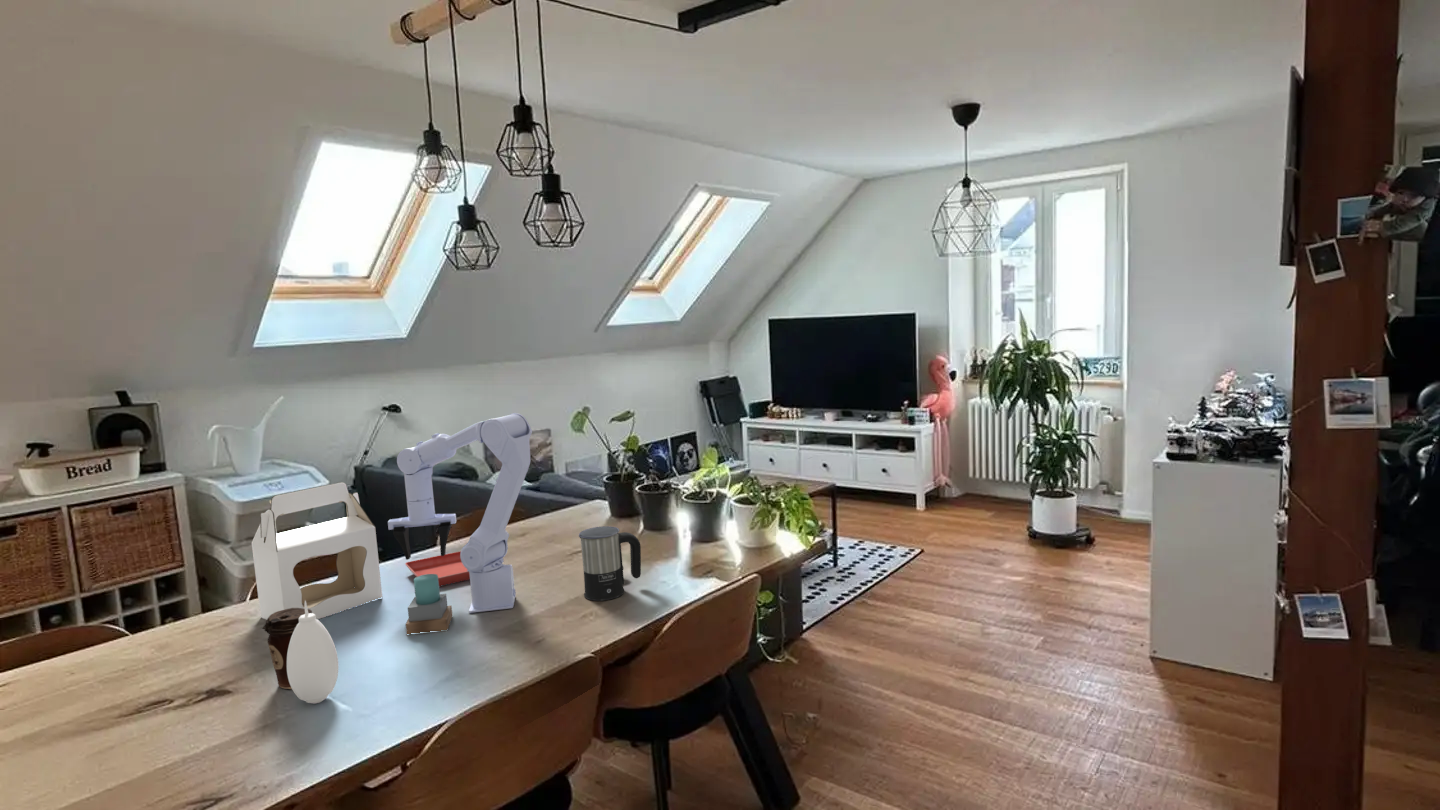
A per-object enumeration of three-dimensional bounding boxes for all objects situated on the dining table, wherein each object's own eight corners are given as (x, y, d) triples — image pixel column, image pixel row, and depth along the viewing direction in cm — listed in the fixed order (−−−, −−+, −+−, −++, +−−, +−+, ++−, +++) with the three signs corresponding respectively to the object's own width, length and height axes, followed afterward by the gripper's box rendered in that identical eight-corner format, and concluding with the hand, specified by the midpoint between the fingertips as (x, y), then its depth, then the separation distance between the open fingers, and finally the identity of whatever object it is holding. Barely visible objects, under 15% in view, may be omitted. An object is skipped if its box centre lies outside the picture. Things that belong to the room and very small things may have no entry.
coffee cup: (268, 697, 139) (259, 626, 137) (270, 679, 146) (262, 611, 144) (324, 684, 143) (316, 615, 141) (323, 667, 150) (315, 601, 148)
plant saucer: (497, 576, 199) (496, 564, 199) (423, 594, 189) (421, 580, 189) (475, 559, 214) (474, 548, 214) (405, 575, 204) (404, 562, 204)
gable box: (356, 588, 195) (343, 476, 192) (384, 598, 187) (371, 481, 183) (259, 618, 178) (243, 496, 174) (285, 630, 170) (269, 502, 166)
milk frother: (597, 605, 175) (592, 539, 173) (561, 588, 187) (556, 527, 185) (649, 587, 184) (645, 525, 183) (611, 573, 196) (607, 514, 194)
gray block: (447, 607, 172) (446, 593, 171) (441, 618, 165) (440, 604, 165) (416, 610, 171) (414, 596, 170) (409, 621, 164) (407, 607, 164)
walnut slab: (452, 618, 173) (451, 605, 172) (447, 632, 165) (446, 619, 165) (414, 623, 171) (412, 609, 171) (407, 637, 164) (405, 624, 163)
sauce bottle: (289, 716, 132) (276, 612, 129) (293, 696, 139) (281, 597, 136) (341, 705, 135) (329, 603, 132) (342, 686, 142) (331, 589, 140)
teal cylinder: (444, 596, 170) (441, 573, 169) (434, 604, 165) (431, 581, 164) (422, 596, 170) (420, 574, 169) (412, 605, 165) (409, 582, 165)
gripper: (455, 491, 186) (461, 548, 187) (390, 497, 183) (396, 554, 185) (451, 498, 179) (456, 557, 181) (383, 504, 176) (389, 563, 178)
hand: (425, 556), depth 182 cm, fingers open, 7 cm apart
